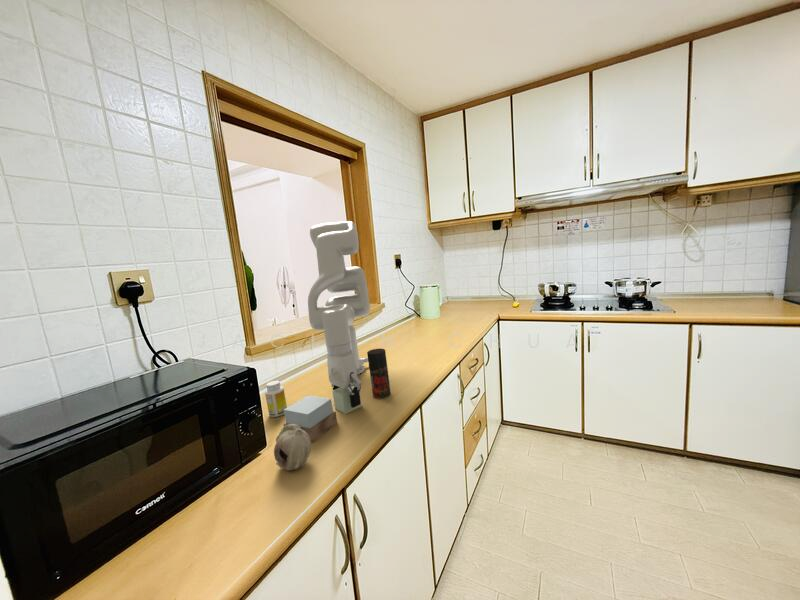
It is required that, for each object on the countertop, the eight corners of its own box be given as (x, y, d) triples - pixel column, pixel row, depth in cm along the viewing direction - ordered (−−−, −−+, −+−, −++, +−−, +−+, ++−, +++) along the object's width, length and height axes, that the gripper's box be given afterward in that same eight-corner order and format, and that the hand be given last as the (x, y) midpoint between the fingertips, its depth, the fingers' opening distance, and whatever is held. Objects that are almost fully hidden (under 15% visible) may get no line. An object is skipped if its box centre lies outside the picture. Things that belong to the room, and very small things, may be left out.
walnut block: (311, 419, 98) (309, 407, 97) (337, 424, 93) (335, 411, 92) (285, 437, 89) (283, 424, 88) (313, 444, 84) (310, 430, 84)
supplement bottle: (289, 408, 107) (284, 378, 105) (285, 416, 101) (279, 384, 100) (272, 410, 106) (266, 380, 105) (266, 419, 101) (261, 387, 99)
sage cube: (351, 401, 106) (348, 384, 105) (361, 406, 102) (359, 388, 101) (335, 408, 102) (332, 390, 102) (345, 414, 98) (342, 395, 97)
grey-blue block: (309, 408, 96) (307, 395, 96) (333, 412, 92) (331, 398, 91) (286, 423, 89) (283, 409, 88) (310, 428, 84) (307, 414, 84)
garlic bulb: (283, 456, 80) (276, 418, 78) (318, 451, 80) (311, 412, 79) (270, 482, 70) (262, 439, 69) (310, 476, 71) (303, 433, 69)
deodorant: (369, 396, 108) (363, 353, 106) (382, 389, 112) (376, 347, 110) (381, 400, 104) (375, 355, 102) (394, 393, 108) (388, 349, 106)
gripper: (315, 348, 103) (323, 399, 106) (344, 356, 90) (352, 414, 93) (335, 342, 108) (342, 391, 110) (366, 349, 95) (373, 404, 98)
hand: (347, 401), depth 102 cm, fingers open, 9 cm apart
